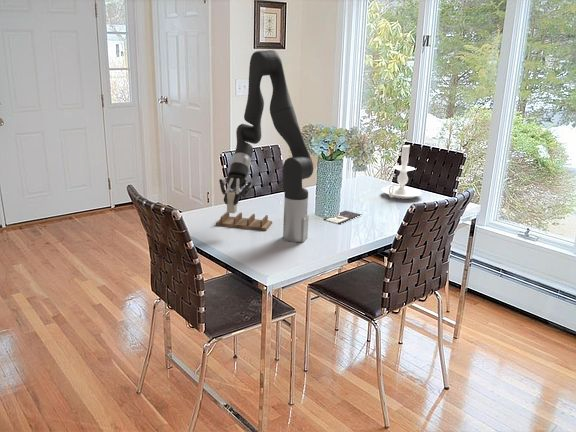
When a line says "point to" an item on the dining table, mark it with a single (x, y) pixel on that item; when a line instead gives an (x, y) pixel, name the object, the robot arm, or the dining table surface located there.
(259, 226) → the drying rack
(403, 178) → the candlestick
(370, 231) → the dining table surface
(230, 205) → the clay bar
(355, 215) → the chocolate bar
